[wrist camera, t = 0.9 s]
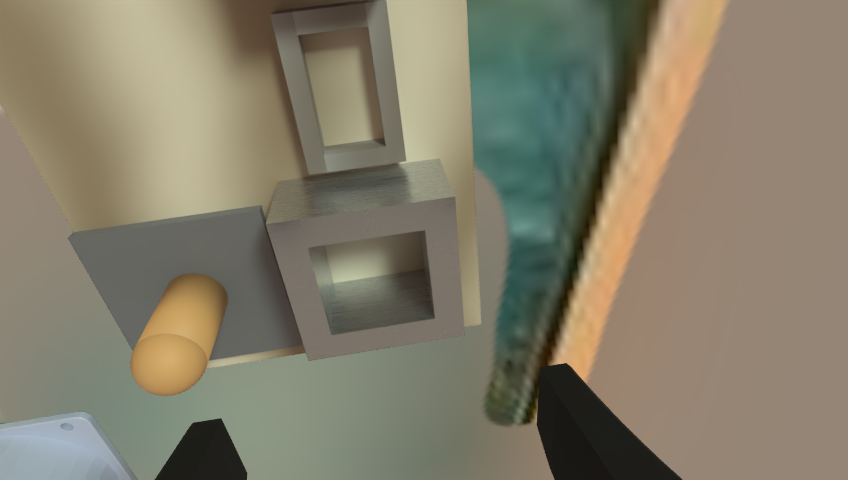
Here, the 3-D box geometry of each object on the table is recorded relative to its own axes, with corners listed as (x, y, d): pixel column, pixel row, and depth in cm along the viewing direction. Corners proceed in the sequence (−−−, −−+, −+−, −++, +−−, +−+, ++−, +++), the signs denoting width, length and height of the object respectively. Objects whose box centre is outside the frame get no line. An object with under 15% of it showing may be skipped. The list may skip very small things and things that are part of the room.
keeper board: (163, 359, 21) (134, 425, 18) (-122, -169, 12) (-274, -203, 9) (476, 309, 22) (494, 364, 19) (448, -224, 13) (477, -272, 10)
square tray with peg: (147, 363, 20) (98, 468, 16) (73, 232, 17) (-14, 323, 13) (303, 338, 20) (291, 434, 16) (261, 204, 17) (234, 285, 13)
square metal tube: (314, 306, 20) (308, 360, 17) (278, 181, 17) (265, 224, 14) (450, 285, 20) (465, 335, 17) (439, 158, 17) (455, 196, 14)
